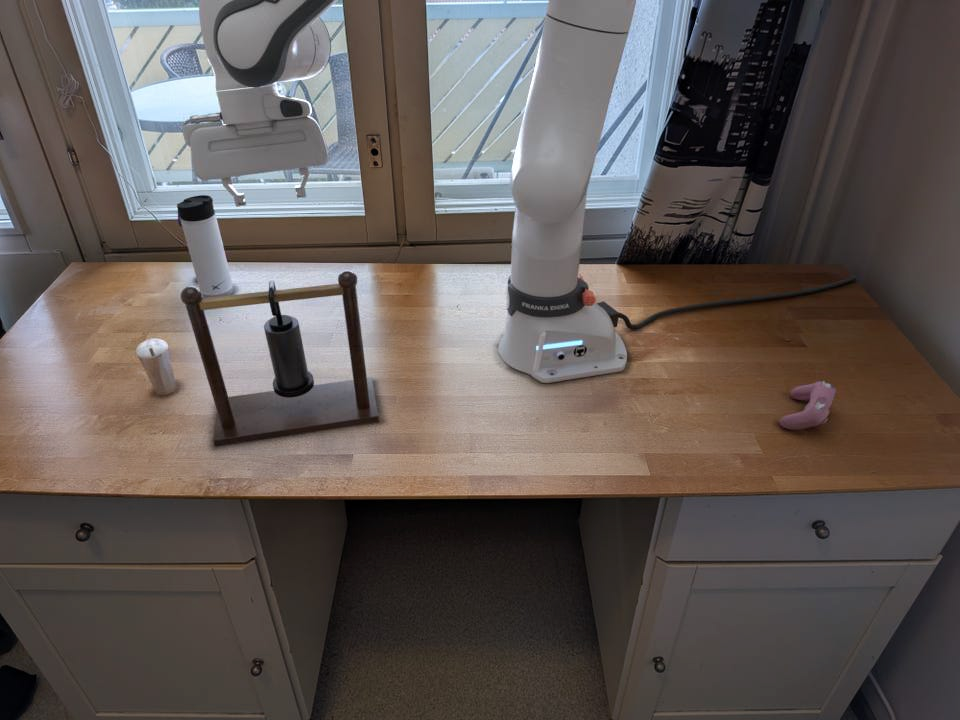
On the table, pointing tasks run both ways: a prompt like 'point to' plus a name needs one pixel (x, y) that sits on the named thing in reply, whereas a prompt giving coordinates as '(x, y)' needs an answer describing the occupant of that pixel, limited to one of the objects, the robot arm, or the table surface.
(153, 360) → the milkshake
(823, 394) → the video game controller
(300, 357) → the dark cylindrical piece
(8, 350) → the table surface
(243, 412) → the rack
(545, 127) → the robot arm
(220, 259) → the travel mug
